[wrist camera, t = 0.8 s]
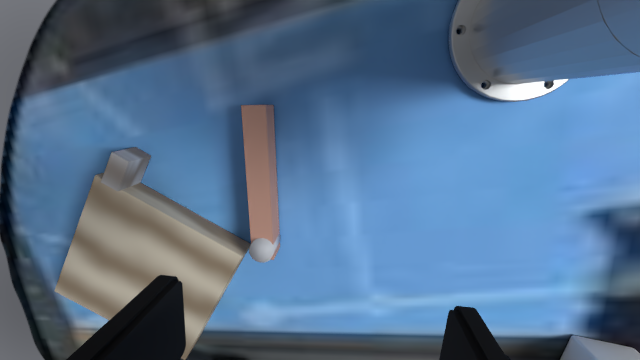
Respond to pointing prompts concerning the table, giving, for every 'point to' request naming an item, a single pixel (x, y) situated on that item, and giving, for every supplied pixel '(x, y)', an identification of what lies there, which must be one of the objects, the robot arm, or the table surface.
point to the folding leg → (261, 180)
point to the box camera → (597, 350)
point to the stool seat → (145, 247)
